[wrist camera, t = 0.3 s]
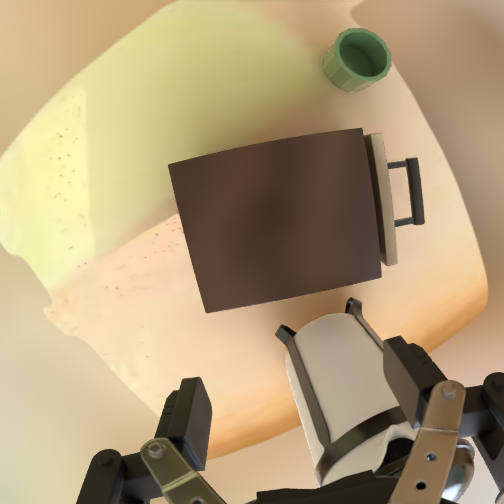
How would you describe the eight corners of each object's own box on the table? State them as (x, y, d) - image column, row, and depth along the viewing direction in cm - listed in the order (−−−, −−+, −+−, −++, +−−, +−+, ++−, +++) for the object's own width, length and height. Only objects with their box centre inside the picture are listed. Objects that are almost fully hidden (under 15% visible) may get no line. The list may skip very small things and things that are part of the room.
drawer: (394, 133, 32) (425, 129, 25) (407, 237, 36) (437, 254, 28) (218, 162, 33) (209, 161, 26) (242, 271, 37) (240, 297, 30)
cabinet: (334, 135, 33) (362, 127, 24) (353, 251, 37) (381, 277, 28) (188, 164, 34) (167, 164, 25) (215, 278, 38) (205, 313, 29)
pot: (317, 46, 30) (327, 29, 25) (366, 44, 30) (382, 28, 25) (329, 94, 32) (342, 82, 27) (378, 90, 32) (398, 80, 26)
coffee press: (244, 372, 40) (274, 594, 11) (311, 273, 37) (466, 489, 8) (342, 406, 44) (415, 568, 15) (406, 325, 41) (541, 471, 12)
